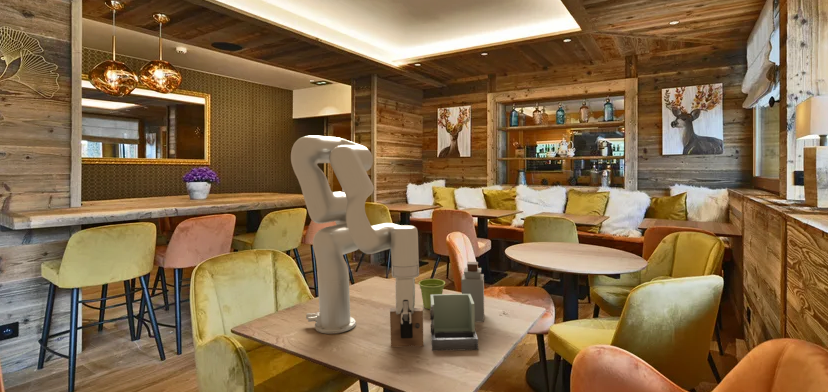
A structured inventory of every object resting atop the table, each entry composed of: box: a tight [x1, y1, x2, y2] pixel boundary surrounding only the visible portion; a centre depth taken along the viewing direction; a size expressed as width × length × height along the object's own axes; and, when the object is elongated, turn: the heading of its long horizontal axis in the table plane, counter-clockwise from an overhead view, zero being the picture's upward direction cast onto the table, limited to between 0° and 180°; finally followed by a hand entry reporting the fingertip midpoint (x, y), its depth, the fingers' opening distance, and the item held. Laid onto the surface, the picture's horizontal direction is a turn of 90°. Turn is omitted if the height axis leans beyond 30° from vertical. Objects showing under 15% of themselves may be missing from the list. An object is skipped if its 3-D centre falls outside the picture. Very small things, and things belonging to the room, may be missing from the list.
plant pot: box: [418, 278, 446, 310], centre depth 145 cm, size 9×9×9 cm
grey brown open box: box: [429, 306, 479, 352], centre depth 114 cm, size 13×6×11 cm, turn 89°
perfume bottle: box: [460, 261, 485, 323], centre depth 134 cm, size 7×7×18 cm
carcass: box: [431, 293, 476, 333], centre depth 120 cm, size 12×9×11 cm
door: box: [389, 307, 424, 348], centre depth 115 cm, size 9×3×10 cm, turn 89°
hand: (407, 330), depth 116 cm, fingers open, 9 cm apart
